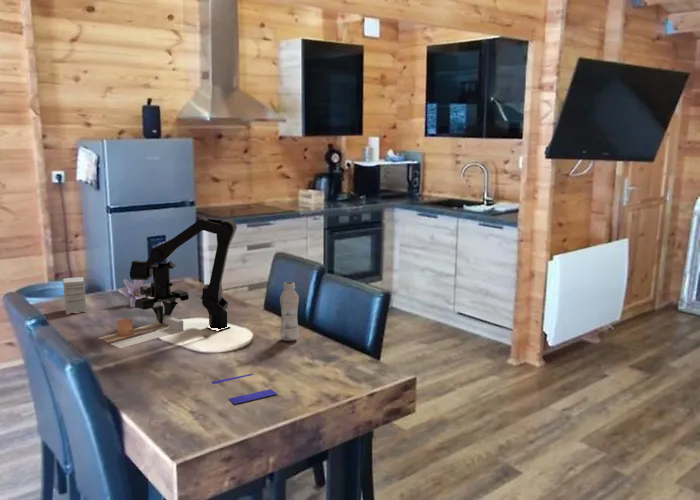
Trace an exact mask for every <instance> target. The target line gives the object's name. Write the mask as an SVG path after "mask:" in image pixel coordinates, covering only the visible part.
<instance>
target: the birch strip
mask: <svg viewBox="0 0 700 500" xmlns="http://www.w3.org/2000/svg"><path fill="white" fill-rule="evenodd" d="M168 318H172V317H171V315H170V316H169V315H167V314H164V312H163V320H162V323H159V321H158V319H157V316H156V315H155V321H156V322H155V323H151V324H148V325H143V326H140V327H137V328H133V334H132V335H131V336H126V337H120V336H118V335H117V332H116V333H113V334H110V335H106V336H101V337H98V339H99V340H101V341H104V342H106V343H110V342H114V341H117V340H123V339H126V338H129V337H130V338H131V337H132V336H137V335H139V334H141V335H142V334H144V333H145V334H146V333H147V332H148V333H149V332H152V331H154V330H156V331H157V330H160V329H163V328H168V327H169V326H168Z"/></svg>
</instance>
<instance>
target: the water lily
mask: <svg viewBox="0 0 700 500" xmlns="http://www.w3.org/2000/svg"><path fill="white" fill-rule="evenodd" d="M123 282H124V285H125V287H126V288H123V287H122V288H118V290H117V291H118V292H119V293H120V294H123V296H124V297H126V298H130V302H129V305H130V308H131V307H132V306H135V301H136V299H139V298H144V297H146V296H145V295H141V294H140V287H141V286H143V283H144V280H133V283H132V282H131V281H129V280H128V279H125V278H124V279H123ZM146 298H149V299H152V297H150V296H149V297H146Z"/></svg>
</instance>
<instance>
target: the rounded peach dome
mask: <svg viewBox="0 0 700 500" xmlns="http://www.w3.org/2000/svg"><path fill="white" fill-rule="evenodd" d="M133 329H134V327H133V318H130V317H122V318H119V319H117V320H116V333H117V335H118V336H120V337H126V336H130V337H132V336H131V335H132V334H133ZM126 338H127V337H126Z"/></svg>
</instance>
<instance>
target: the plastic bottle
mask: <svg viewBox="0 0 700 500" xmlns="http://www.w3.org/2000/svg"><path fill="white" fill-rule="evenodd" d="M295 289H296V284H295V282H294V281H285V282H283V291H282V293H281V294H280V296H279V303H280V311H281V312H280V313H281V318H280V319H281V321H280V322H281V323H280V328H279V329H280V330H279V337H280V338H281V340H282V341H285V342H294V341H296V340H297V339H298V338H299V336H300V329H299V323H298V309H299V300H300V297H299V294H298V292H296V290H295Z"/></svg>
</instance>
